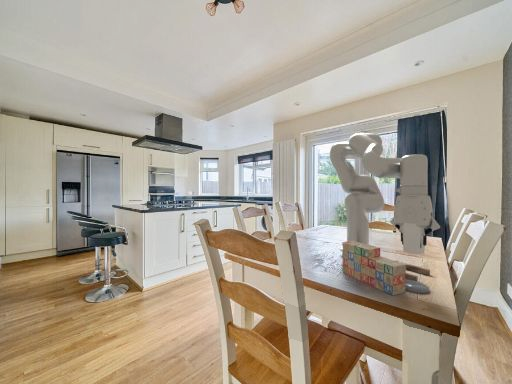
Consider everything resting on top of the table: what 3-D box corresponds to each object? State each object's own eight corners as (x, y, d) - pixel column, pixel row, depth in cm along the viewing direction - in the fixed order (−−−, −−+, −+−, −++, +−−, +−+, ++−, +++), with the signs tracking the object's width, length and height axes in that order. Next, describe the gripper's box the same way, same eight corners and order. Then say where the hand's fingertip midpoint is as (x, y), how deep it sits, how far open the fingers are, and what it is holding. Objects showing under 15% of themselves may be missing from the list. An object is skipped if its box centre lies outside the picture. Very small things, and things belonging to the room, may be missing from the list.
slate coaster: (391, 285, 74) (391, 283, 74) (403, 279, 79) (403, 277, 79) (423, 296, 66) (423, 293, 66) (433, 288, 71) (433, 286, 71)
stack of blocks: (406, 292, 69) (406, 254, 69) (392, 296, 66) (392, 257, 66) (353, 269, 89) (353, 240, 89) (341, 271, 86) (341, 241, 86)
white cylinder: (397, 250, 74) (397, 221, 74) (411, 248, 76) (411, 220, 76) (416, 255, 68) (416, 224, 68) (431, 253, 70) (431, 223, 70)
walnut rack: (379, 271, 87) (379, 266, 87) (394, 265, 94) (395, 260, 94) (415, 282, 76) (415, 276, 76) (429, 274, 83) (429, 269, 83)
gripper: (381, 191, 77) (381, 242, 77) (441, 191, 63) (440, 253, 63) (391, 191, 81) (391, 239, 81) (449, 191, 67) (449, 249, 67)
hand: (413, 245), depth 72 cm, fingers closed on white cylinder, 4 cm apart
